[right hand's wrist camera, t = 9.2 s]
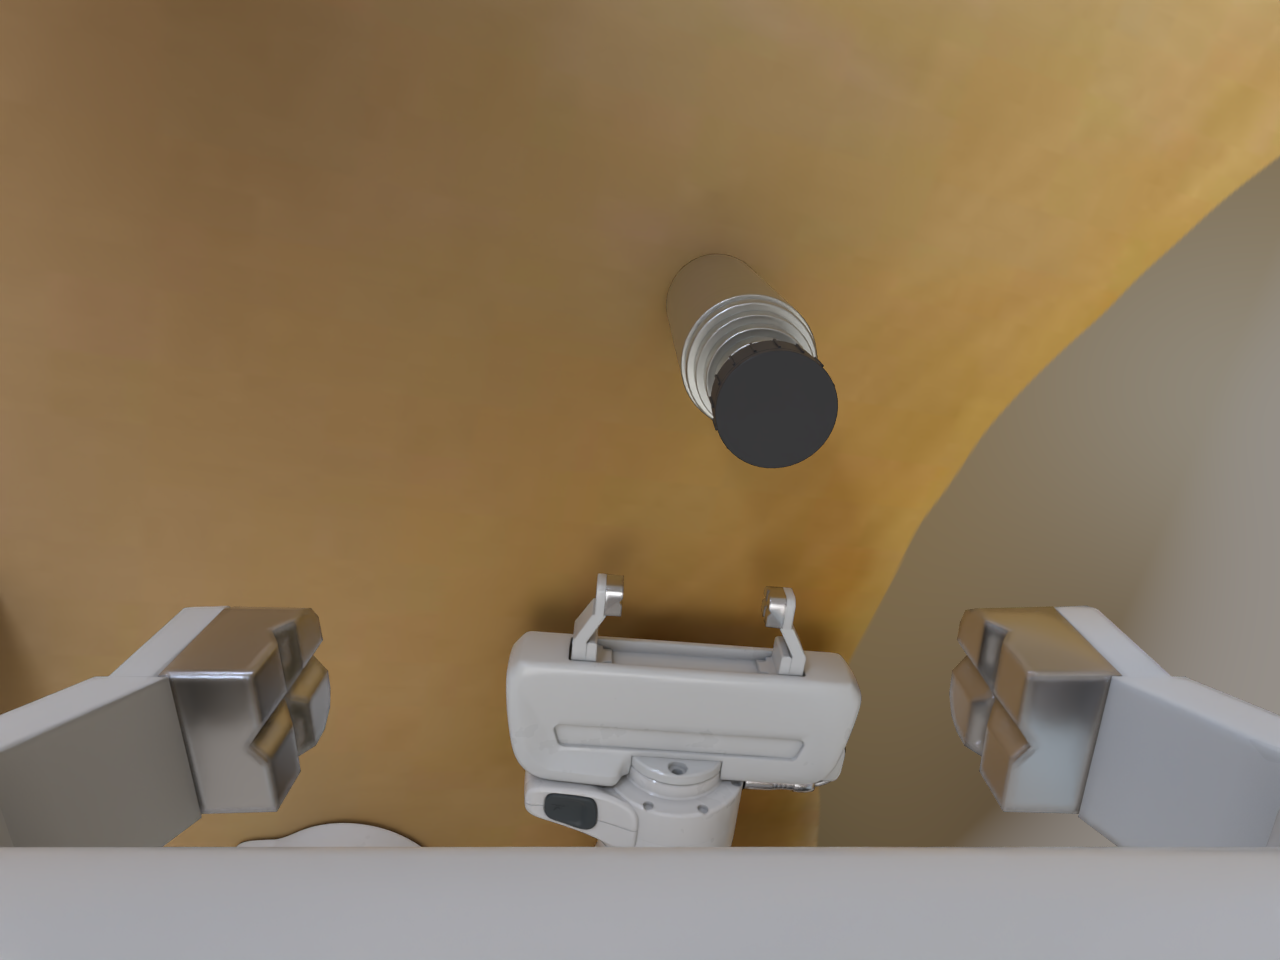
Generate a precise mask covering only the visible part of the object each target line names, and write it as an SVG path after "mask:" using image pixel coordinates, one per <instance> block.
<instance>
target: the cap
mask: <svg viewBox="0 0 1280 960" xmlns="http://www.w3.org/2000/svg"><path fill="white" fill-rule="evenodd" d="M823 366H824V365H823V364H822V363H821V362H820V361H819V360H818V359H817V358H816V357H814V358H813V356H812V355H810V354H809V353H808V352H807V351H806V350H804V349H802V348H801V347H800V346H799V344H797V343H796V345H795V344H792V343H789V342H785V341H778V340H776V339H773V340H768V341H761V342H757V343H753V344H752V343H749V345H748V346H746V347H744V348H742V349H740V350H739V351H737V352H736V353H734V354H733V355H732V356H731V355H730V356H729V359H728V360H727V361H726V362H725V363H724V364H723V365H722V367H721V369H720V370H719V372H718V373H717V374H715V380H714V383H713V386H712V391H711V396H709V400H710V403H711V410H712V414H713V418H712V420H713V423H714V427H715V430H718V433H719V435H720V437H721V439H722V441H723V443H724V444H725V445H726V447H727V448H728V449H729V450H730V451H731V452H732V453H733V454H734V455H735V456H737V457H738V458H739V459H741V460H743V461H744V462H746V463H749V464H751V465H754V466H758V467H763V468H781V467H787V466H791V465H794V464H796V463H799V462H801V461H803V460H805V459H807V458H808V457H810V456H811V455H812V454H814V453H815V452H816V451H817V450H818V449H819V448H820V447H821V446H822V445H823V444H824V443H825V441H826V440H827V438H828V437H829V435H830V433H831V432H832V429H833V427H834V424H835V421H836V417H837V411H838V399H837V393H836V390H835V385H834V384H833V382H832V380H831V378H830V376H829V375H828V373H827V372H826V371H825V370H824V369H823Z"/></svg>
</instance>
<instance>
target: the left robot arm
mask: <svg viewBox="0 0 1280 960" xmlns="http://www.w3.org/2000/svg"><path fill="white" fill-rule="evenodd" d="M623 590H624V576H623V575H612V574H600V573H598V577H597V589H596V598H593V599H592V601H591V602H590V603H589V604H588V606H587V607H586V608H585V609H584V610H583V612H582V613H581V614H580V615H579V617H578V618H577V619H576V620H575V625H574V634H566V633H552V632H540V631H529V632H526V633H525V634H524V635H522V636H521V637H520V638H519V639H518V640H517V641H516V642H515V643H514V645H513V647H512V650H511V654H510V657H509V663H508V668H507V677H506V703H507V716H508V725H509V732H510V739H511V744H512V749H513V752H514V754H515V757H516V759H517V760H518V762H519V764H520V765H521V766H522V767H523V768H524V769H525V770H526V771H525V784H524V798H525V807H526V810H527V811H528V812H529V813H530V814H532V815H534V816H536V817H539V818H541V819H545V820H548V821H551V822H554V823H557V824H560V825H563V826H566V827H569V828H572V829H575V830H578V831H580V832H583V833H585V834H588V835H590V836H592V837H595V838H597V839H598V841H597V843H596V845H595V847H731V845H732V841H733V836H734V831H735V825H736V820H737V814H738V809H739V803H740V798H741V792H742V790H743V789H753V790H776V789H777V790H780V789H781V790H792V791H793V792H801V793H804V792H812V791H814V788H815V787H816V786H822V785H825V784H827V783H829V782H831V781H834V780H836V779H837V778H838V777H839V775H840V773H841V770H842V766H843V762H844V757H845V752H846V747H845V746H846V744H847V742H848V740H849V737H850V735H851V732H852V730H853V727H854V724H855V721H856V718H857V715H858V712H859V709H860V705H861V692H860V688H859V685H858V682H857V680H856V678H855V675H854V674H853V672H852V670H851V668H850V667H849V665H848V664H847V663H846V661H845V660H844V659H843V657H842V656H841V655H839V654H837V653H831V652H817V651H804V650H803V648H802V645H801V642H800V639H799V636H798V634H797V632H796V630H795V627H794V625H793V618H794V613H795V608H796V599H795V595H794V593H793V590H792V588H784V587H770V586H766V587H765V589H764V596H765V598H764V599H763V600H762V606H761V612H762V616H763V617H764V623H765V626H766V627H772V628H780V630H781V633H782V635H783V636H777V637H775V641H774V646H773V648H762V647H748V646H733V645H720V644H706V643H692V642H678V641H664V640H650V639H636V638H622V637H608V636H598V626H599V625H600V624H601V622H602V621H603V620H604V619H605V617H606V616H621V611H622V599H623ZM237 847H421V846H419V845H418V844H416V843H415V842H413V841H411V840H410V839H408V838H406V837H404V836H402V835H399V834H397V833H395V832H392V831H389V830H386V829H383V828H379V827H375V826H370V825H365V824H356V823H331V824H324V825H318V826H314V827H310V828H307V829H304V830H301V831H299V832H296V833H294V834H291V835H289V836H286V837H283V838H280V839H271V840H254V841H247V842H243V843H241V844H239V845H238V846H237Z"/></svg>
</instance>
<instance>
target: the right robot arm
mask: <svg viewBox="0 0 1280 960" xmlns="http://www.w3.org/2000/svg"><path fill="white" fill-rule="evenodd" d="M957 640H958V642H959V644H960V645H961V647H962V648H963V650H964V651H965V653H966V654H967V656H966V657H965V658H964V659H963V660H962V661H961V662H960V663H959V664H958V665H957V666H956V667H955V668H954V669H953V670H952V677H951V685H950V693H949V695H950V705H951V715H952V719H953V722H954V725H955V728H956V731H957V733H958V735H959V737H960V738H961V740H962V742H963V744H964V746H966V747H967V748H969V749H971V750H972V751H974V752H975V753H977V754H979V755H980V756H982V758H981V764H980V770H979V771H980V773H981V775H982V776H983V778H984V780H985V782H986V783H987V785H988V787H989V788H990V790H991V792H992V793H993V795H994V797H995V798H996V800H997V802H998V803H999V805H1000V807H1001V809H1002V810H1003V812H1034V813H1071V814H1079V815H1078V817H1079V818H1080V819H1082V820H1083V821H1084V822H1086V823H1087V824H1088V825H1090V826H1091V827H1092V828H1094V829H1095V830H1096V831H1098V832H1099V833H1100V834H1102V835H1103V836H1104V837H1106V838H1107V839H1108V840H1110V841H1111V842H1112V843H1114V844H1115V845H1116V846H1118V847H163V846H164V845H165V844H167V843H168V842H169V841H171V840H172V839H173V838H175V837H176V836H177V835H179V834H180V833H181V832H183V831H184V830H185V829H187V828H188V827H189V826H191V825H192V824H193V823H195V822H196V821H197V820H199V819H200V818H201V817H202V816H201V814H210V813H245V812H277V810H278V809H279V807H280V805H281V804H282V802H283V800H284V799H285V797H286V795H287V794H288V792H289V790H290V788H291V787H292V785H293V783H294V782H295V780H296V778H297V777H298V775H299V773H300V772H301V770H300V764H299V758H298V756H300V755H301V754H303V753H305V752H306V751H308V750H309V749H311V748H313V747H314V746H316V744H317V742H318V740H319V738H320V737H321V735H322V733H323V731H324V729H325V725H326V721H327V717H328V713H329V709H330V682H329V675H328V670H327V669H326V668H325V667H324V666H323V665H322V664H321V663H320V662H319V661H318V660H317V659H316V658H315V657H314V656H313V654H314V653H315V651H316V650H317V648H318V647H319V645H320V644H321V642H322V641H323V638H322V633H321V627H320V622H319V617H318V616H317V614H316V613H315V612H314V611H313V610H312V609H311V608H275V607H230V606H205V607H188V608H183V609H182V610H181V611H180V612H179V613H178V614H177V615H176V616H175V617H174V618H172V619H171V620H170V621H169V622H168V623H167V624H166V625H165V626H164V627H162V628H161V629H160V630H159V631H158V632H157V633H156V634H155V635H154V636H153V637H151V638H150V639H149V640H148V641H147V642H146V643H145V644H144V645H143V646H142V647H140V648H139V649H138V650H137V651H136V652H135V653H134V654H133V655H132V656H130V657H129V658H128V659H127V660H126V661H125V662H124V663H123V664H122V665H121V666H119V667H118V668H117V669H116V670H115V671H114V672H113V673H112V674H111V675H109V676H101V677H93V678H90V679H88V680H85V681H83V682H80V683H78V684H75V685H73V686H70V687H68V688H65V689H63V690H61V691H58V692H56V693H53V694H51V695H48V696H46V697H43V698H41V699H38V700H36V701H33V702H31V703H28V704H26V705H24V706H21V707H19V708H16V709H14V710H11V711H9V712H6V713H4V714H1V715H0V960H1280V715H1278V714H1276V713H1273V712H1271V711H1269V710H1266V709H1264V708H1261V707H1259V706H1256V705H1254V704H1251V703H1249V702H1246V701H1244V700H1241V699H1239V698H1237V697H1234V696H1232V695H1229V694H1227V693H1224V692H1222V691H1219V690H1217V689H1214V688H1212V687H1210V686H1207V685H1205V684H1202V683H1200V682H1197V681H1195V680H1192V679H1190V678H1187V677H1180V676H1178V677H1177V676H1171V675H1169V674H1168V673H1167V672H1166V671H1165V670H1164V669H1163V668H1162V667H1161V666H1160V665H1158V664H1157V663H1156V662H1155V661H1154V660H1153V659H1152V658H1151V657H1150V656H1149V655H1147V654H1146V653H1145V652H1144V651H1143V650H1142V649H1141V648H1140V647H1139V646H1138V645H1136V644H1135V643H1134V642H1133V641H1132V640H1131V639H1130V638H1129V637H1128V636H1127V635H1125V634H1124V633H1123V632H1122V631H1121V630H1120V629H1119V628H1118V627H1117V626H1116V625H1114V624H1113V623H1112V622H1111V621H1110V620H1109V619H1108V618H1107V617H1106V616H1105V615H1103V614H1102V613H1101V612H1100V611H1099V610H1098V609H1096V608H1092V607H1089V606H1068V607H1017V608H976V609H970V610H966V611H965V612H964V615H963V617H962V619H961V621H960V626H959V632H958V637H957Z"/></svg>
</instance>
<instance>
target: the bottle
mask: <svg viewBox="0 0 1280 960" xmlns="http://www.w3.org/2000/svg"><path fill="white" fill-rule="evenodd" d="M666 310H667V316H668V320H669V325H670V329H671V333H672V337H673V342H674V346H675V350H676V354H677V358H678V363H679V367H680V371H681V375H682V379H683V384H684V386H685V389H686V391H687V393H688V395H689V397H690V399H691V400H692V401H693V403H694V404H695V405H696V406H697V408H698V409H699V410H700V411H701V412H703V413H704V414H705V415H706V416H708V417H709V418H710V419H711V420H712V418H713V414H712V410H711V403H710V400H709V396H711V391H712V386H713V383H714V380H715V374H717V373H718V372H719V370H720V369H721V367H722V365H723V364H724V363H725V362H726V361H727V360H728V359H729V356H730V355H731V356H732V355H733V354H734V353H736V352H737V351H739V350H740V349H742V348H744V347H746V346H748V345H749V343H752V344H753V343H757V342H761V341H768V340H773V339H776V340H778V341H785V342H789V343H792V344H795V345H796V343H797V344H799V346H800V347H801V348H802V349H804V350H806V351H807V352H808V353H809V354H810V355H812V356H813V358H814V357H816V358H817V359H818V357H817V350H816V344H815V340H814V337H813V334H812V332H811V329H810V327H809V325H808V324H807V322H806V321H805V319H804V318H803V317H802V316H801V315H800V314H799V312H797V311H796V310H795V309H794V308H793V307H792V306H791V305H790V304H789V303H788V302H787V301H786V300H785V299H783V298H782V297H781V296H780V295H779V294H778V293H777V292H776V291H775V290H774V289H773V288H772V287H770V286H769V285H768V284H767V283H766V282H765V281H764V280H763V279H762V278H761V277H760V276H759V275H758V274H756V273H755V272H754V271H753V270H752V269H751V268H750V267H749V266H748V265H746V264H745V263H744V262H742V261H741V260H739V259H737V258H735V257H732V256H728V255H723V254H711V255H706V256H702V257H699V258H697V259H695V260H693V261H691V262H689V263H688V264H687V265H685V266H684V267H683V268H682V269H681V270H680V271H679V272H678V273H677V275H676V276H675V278H674V279H673V281H672V283H671V285H670V287H669V291H668V294H667V300H666Z"/></svg>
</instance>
